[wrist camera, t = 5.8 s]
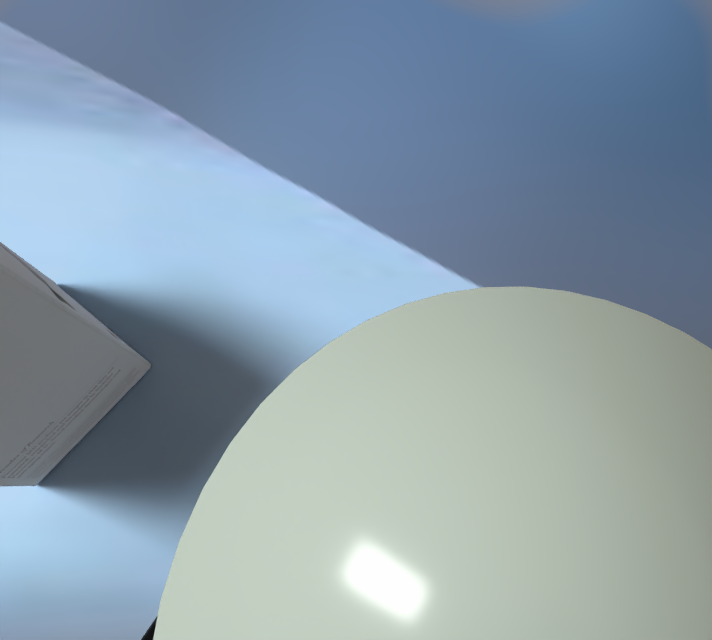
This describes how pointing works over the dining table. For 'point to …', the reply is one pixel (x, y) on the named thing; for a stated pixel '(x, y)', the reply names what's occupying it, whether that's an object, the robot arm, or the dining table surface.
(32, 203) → the dining table surface
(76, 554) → the dining table surface
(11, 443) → the supplement box
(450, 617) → the sage green domed cylinder
